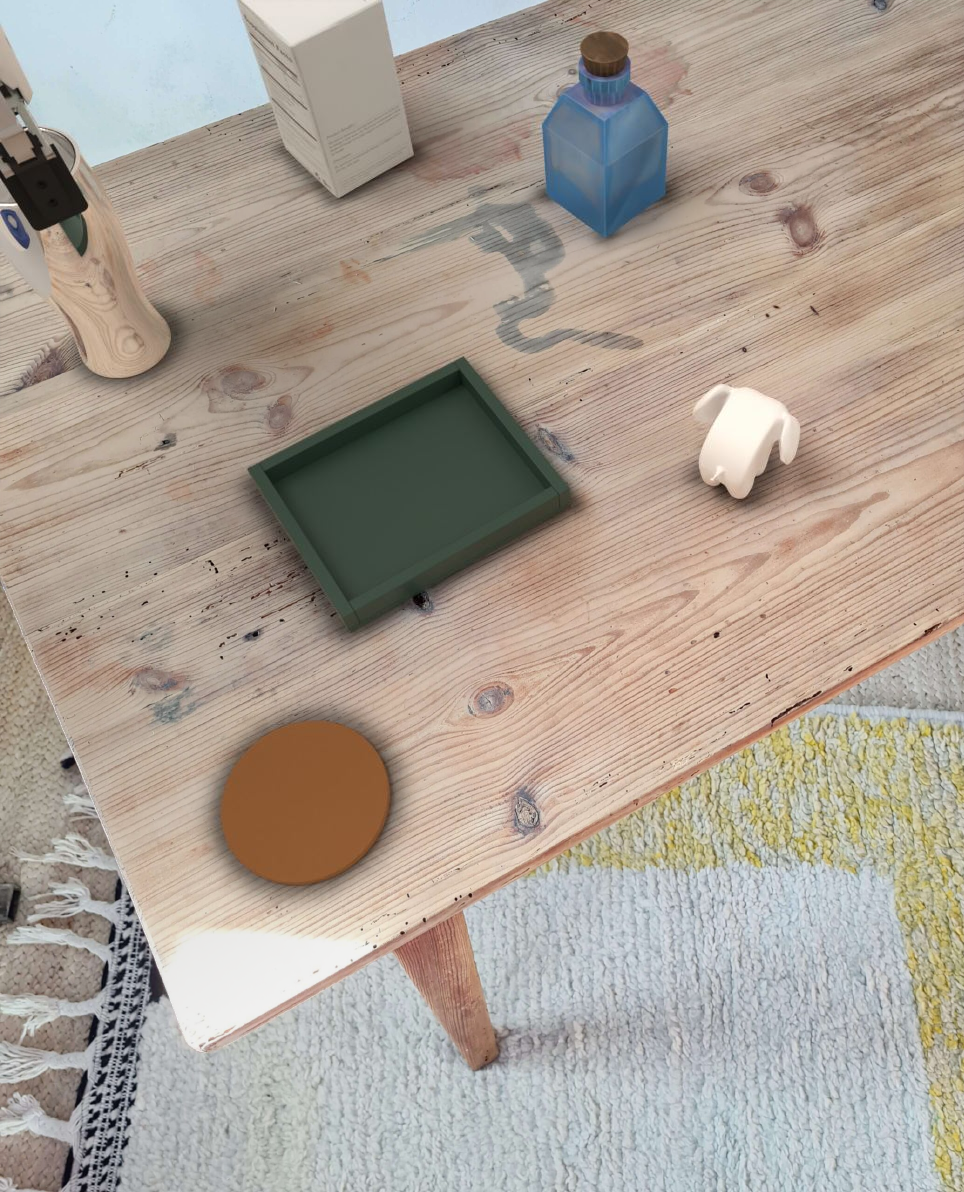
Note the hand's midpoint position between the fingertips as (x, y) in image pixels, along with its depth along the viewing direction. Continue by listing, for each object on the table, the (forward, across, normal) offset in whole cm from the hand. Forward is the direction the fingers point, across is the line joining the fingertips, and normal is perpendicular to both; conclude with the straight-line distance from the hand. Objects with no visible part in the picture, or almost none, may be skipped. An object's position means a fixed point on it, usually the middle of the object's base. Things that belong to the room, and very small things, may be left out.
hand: (30, 166), depth 61 cm
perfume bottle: (+15, +7, +34) cm, 38 cm away
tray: (+14, +22, +9) cm, 28 cm away
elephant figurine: (+15, +32, +27) cm, 45 cm away
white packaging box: (+15, -8, +21) cm, 27 cm away
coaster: (+14, +36, -5) cm, 39 cm away
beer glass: (+15, 0, -1) cm, 15 cm away
